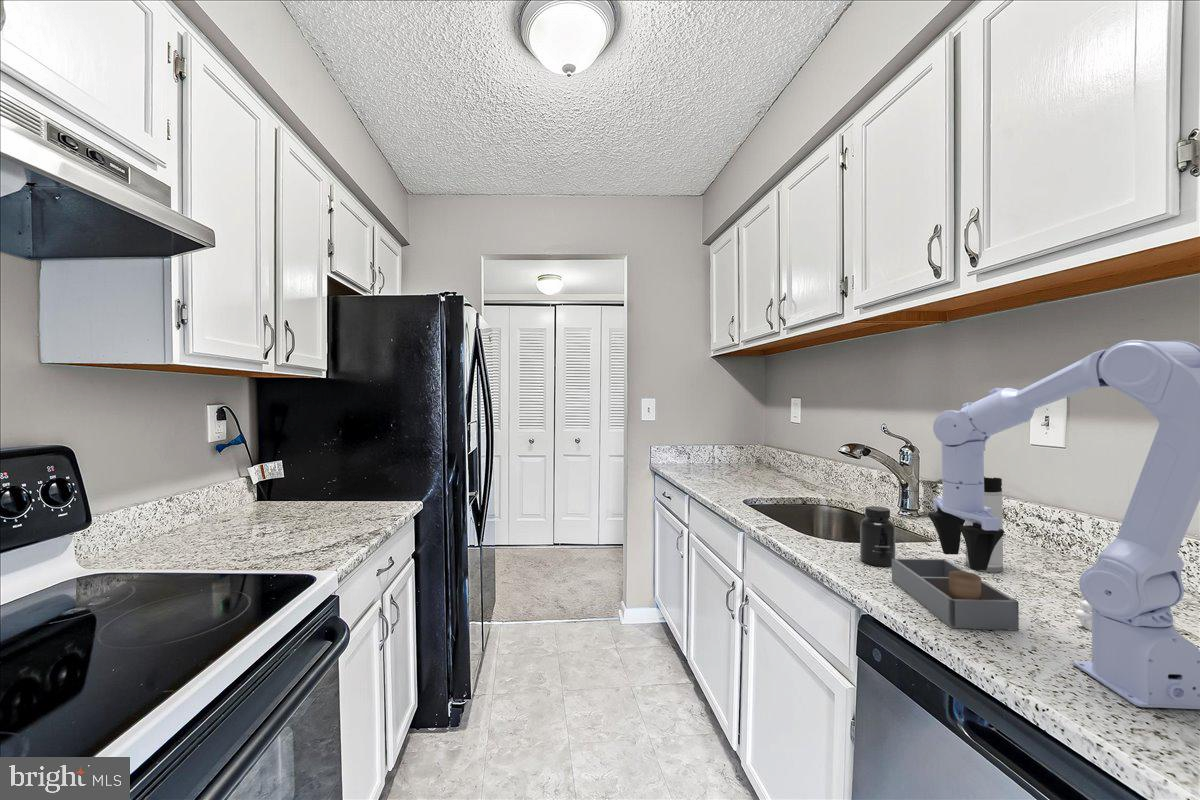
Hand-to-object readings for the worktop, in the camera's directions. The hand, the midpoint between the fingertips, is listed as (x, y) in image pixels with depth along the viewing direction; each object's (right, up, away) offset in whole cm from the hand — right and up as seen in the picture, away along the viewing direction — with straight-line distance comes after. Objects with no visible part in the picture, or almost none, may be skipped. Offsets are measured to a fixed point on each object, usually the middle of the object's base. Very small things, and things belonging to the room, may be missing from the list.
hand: (964, 561), depth 84 cm
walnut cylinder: (0, -8, 0) cm, 8 cm away
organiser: (+1, -9, +5) cm, 10 cm away
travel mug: (+20, -8, +21) cm, 30 cm away
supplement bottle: (0, -9, +26) cm, 28 cm away
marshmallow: (+17, -9, -6) cm, 20 cm away
